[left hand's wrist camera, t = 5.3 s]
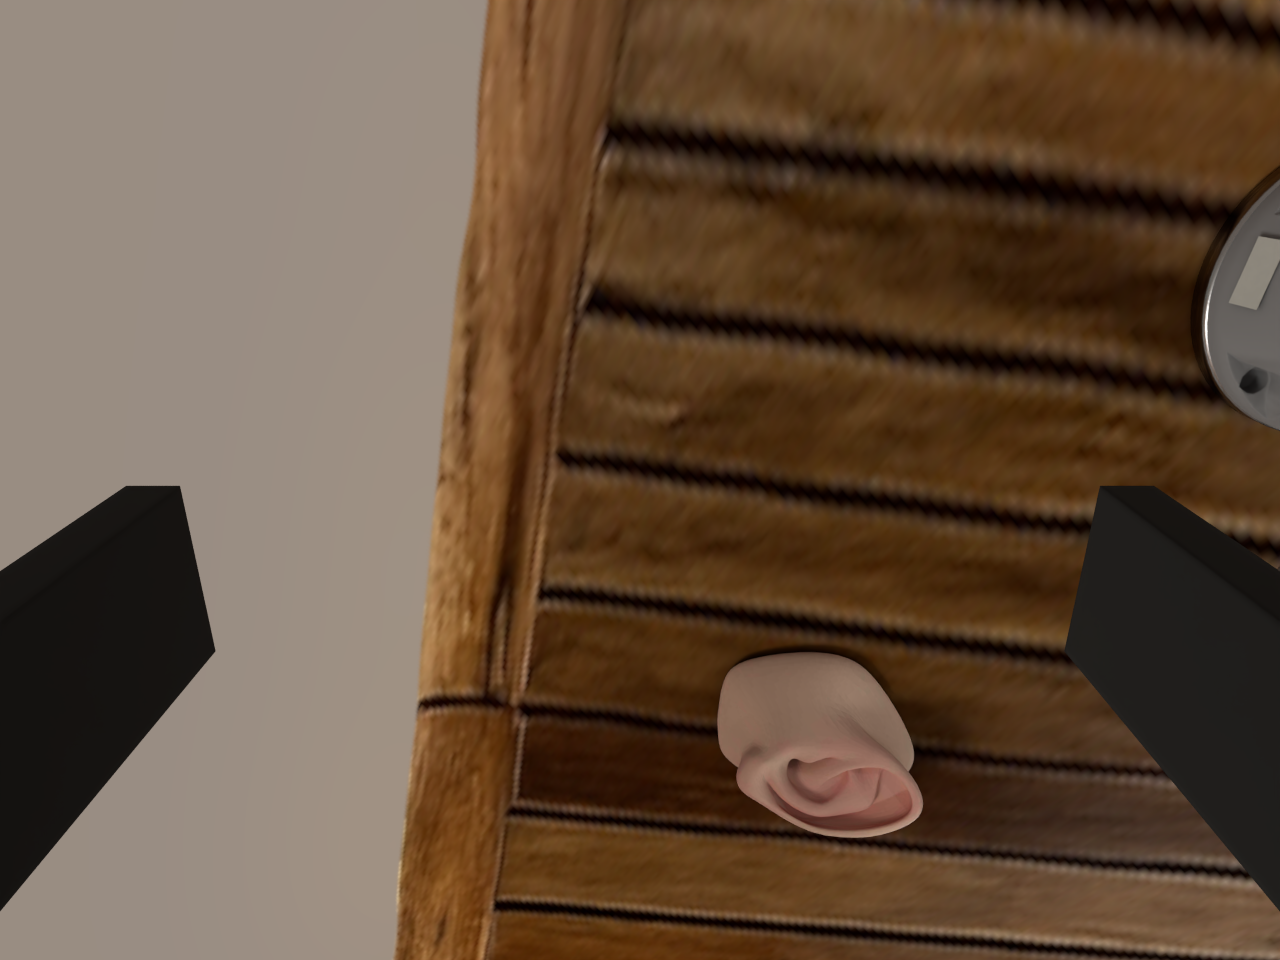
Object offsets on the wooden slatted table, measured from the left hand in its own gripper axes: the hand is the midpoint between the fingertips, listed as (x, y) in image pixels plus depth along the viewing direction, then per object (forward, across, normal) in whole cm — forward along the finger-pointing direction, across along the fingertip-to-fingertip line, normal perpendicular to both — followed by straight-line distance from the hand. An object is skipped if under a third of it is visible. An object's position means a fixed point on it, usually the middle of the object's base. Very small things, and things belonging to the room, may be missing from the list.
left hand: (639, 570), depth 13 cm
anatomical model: (+34, -11, +29) cm, 46 cm away
